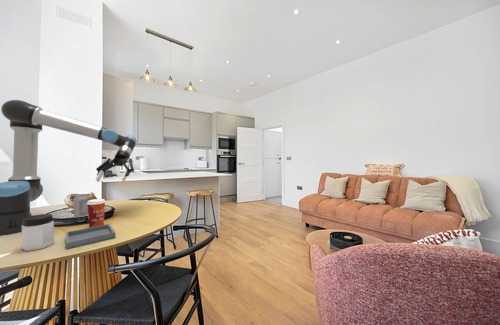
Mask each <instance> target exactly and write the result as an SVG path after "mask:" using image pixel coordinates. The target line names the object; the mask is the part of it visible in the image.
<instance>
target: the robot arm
mask: <svg viewBox="0 0 500 325" xmlns="http://www.w3.org/2000/svg"><path fill="white" fill-rule="evenodd" d="M1 113H2V115H3V117H4V118H6V119H7V120H8V121H9V127H10V129H11V130H13V156H12V157H13V158H12V159H13V160H12V162H13V163H12V164H13V165H12V176H10V177H9V178H8V179H7V181H4V182H0V236H3V235H10V234H15V233H22V225H23V219H24V218H26V217H29V216H33V215H32V212H31V202H33V201H36V200H37V199H38V198H39V197H41V195H42V194H43V192H44V187H43V185H42V184H41V177H40V176H38V146H39V144H38V143H39V133H41V132H42V131H43V127H44V126H45V127H49V128H52V129H56V130H61V131H63V132H67V133H71V134H76V135H81V136H83V137H88V138H92V139H95V140H99V141H103V142H105V143H108V144H111V145H113V146H116V147H118V150H117V151H116V154H115V155H114V158H113V159H111V158H107V159H106V161H105V162H103V163H102V164H100V165H99V166H98V167H96V169H95V170H96V172H97V174H96V177H95V180H96V181H97V183H99V182H100V181H101V180H102V178H103V176H104V174H105V173H106V171H108V170H110V169H112V168H115V167H122V166H123V167H124V169H125V171H124V173H123V174H122V177H121V180H122V181H123V183H124V182H126V179H127V178H128V177H129V176H130V174H131V172H133V173H134V172H135V169H134V165H133V159H132V157H131V155H132V153H133V151H134V149H135V147H136V144H137V139H136V137H135V136H133V135H126V136H123V135H121V134H119V133H117V130H114V129H111V128H107V127H106V128H105V127H102V126H100V125H99V126H98V125H95V124H92V123H88V122H86V121H82V120H79V119H75V118H72V117H68V116H65V115H63V114H62V115H61V114H58V113H55V112H51V111H47V110H44V109H43V107H41V106H38V105H34V104H32V103H29V102H27V101H24V100H20V99H10V100H7V101H5V102H4V103H3V104H2V105H1ZM130 157H131V158H130ZM127 163H128V164H129V166H128V165H127ZM104 172H105V173H104Z"/></svg>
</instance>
